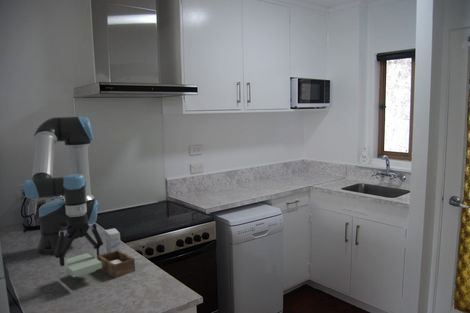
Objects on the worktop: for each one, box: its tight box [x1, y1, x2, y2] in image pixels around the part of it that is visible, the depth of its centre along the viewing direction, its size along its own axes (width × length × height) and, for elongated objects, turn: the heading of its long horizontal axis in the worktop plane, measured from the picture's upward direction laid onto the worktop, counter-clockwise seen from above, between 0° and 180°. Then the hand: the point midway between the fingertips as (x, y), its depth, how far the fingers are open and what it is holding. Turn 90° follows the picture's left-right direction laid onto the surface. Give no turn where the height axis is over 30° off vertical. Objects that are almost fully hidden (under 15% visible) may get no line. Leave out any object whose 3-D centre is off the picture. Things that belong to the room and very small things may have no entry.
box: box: [98, 250, 136, 279], centre depth 151 cm, size 14×9×6 cm, turn 45°
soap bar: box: [110, 259, 122, 264], centre depth 151 cm, size 6×4×3 cm, turn 45°
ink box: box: [104, 227, 122, 254], centre depth 167 cm, size 9×5×12 cm, turn 33°
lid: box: [59, 252, 102, 278], centre depth 142 cm, size 14×11×3 cm
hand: (80, 268), depth 142 cm, fingers closed on lid, 11 cm apart
